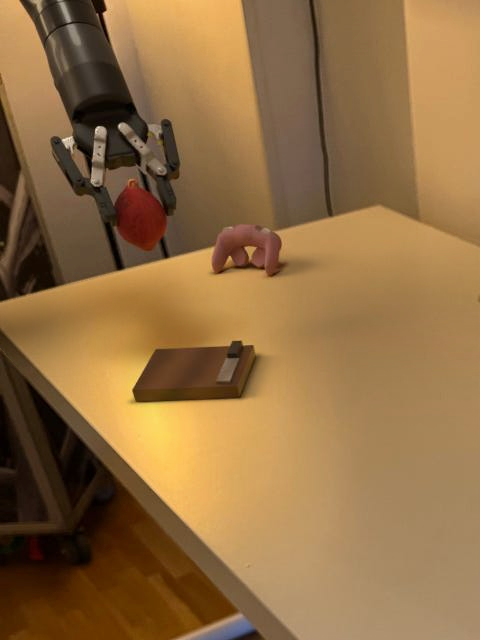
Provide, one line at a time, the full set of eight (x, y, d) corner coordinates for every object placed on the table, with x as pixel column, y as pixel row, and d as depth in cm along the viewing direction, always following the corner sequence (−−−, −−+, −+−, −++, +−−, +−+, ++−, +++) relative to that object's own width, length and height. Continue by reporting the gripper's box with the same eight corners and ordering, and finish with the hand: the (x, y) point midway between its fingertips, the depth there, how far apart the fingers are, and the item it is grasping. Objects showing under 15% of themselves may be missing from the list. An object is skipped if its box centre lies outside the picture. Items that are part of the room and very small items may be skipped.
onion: (144, 263, 113) (124, 190, 108) (113, 254, 116) (92, 182, 110) (183, 247, 116) (166, 176, 111) (152, 239, 119) (134, 168, 114)
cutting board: (135, 402, 112) (129, 382, 110) (158, 360, 120) (153, 341, 119) (239, 397, 112) (235, 378, 110) (255, 356, 120) (252, 337, 119)
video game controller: (284, 278, 144) (286, 227, 142) (271, 274, 140) (272, 222, 138) (223, 275, 146) (223, 224, 144) (208, 271, 142) (208, 219, 140)
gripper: (20, 67, 106) (77, 211, 106) (152, 50, 111) (206, 187, 111) (28, 112, 113) (81, 247, 113) (152, 94, 118) (203, 223, 118)
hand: (143, 216), depth 112 cm, fingers closed on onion, 5 cm apart
